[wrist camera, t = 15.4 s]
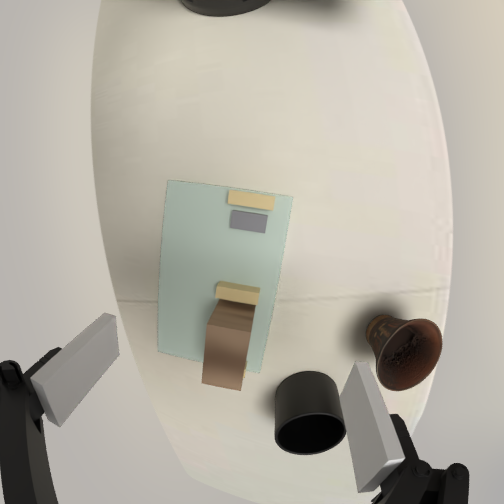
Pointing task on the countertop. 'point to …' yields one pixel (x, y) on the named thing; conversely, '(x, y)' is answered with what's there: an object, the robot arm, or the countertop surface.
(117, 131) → the countertop surface
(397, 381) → the cup
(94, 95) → the countertop surface
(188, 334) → the wall board
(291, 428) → the mug
